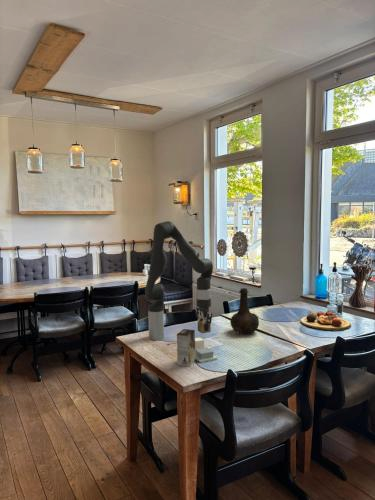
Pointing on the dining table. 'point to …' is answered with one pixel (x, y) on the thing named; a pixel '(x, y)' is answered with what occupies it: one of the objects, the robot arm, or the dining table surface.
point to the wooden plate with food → (325, 321)
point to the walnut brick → (201, 327)
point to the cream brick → (199, 343)
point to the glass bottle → (244, 316)
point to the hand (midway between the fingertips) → (204, 329)
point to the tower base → (204, 355)
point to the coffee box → (186, 347)
